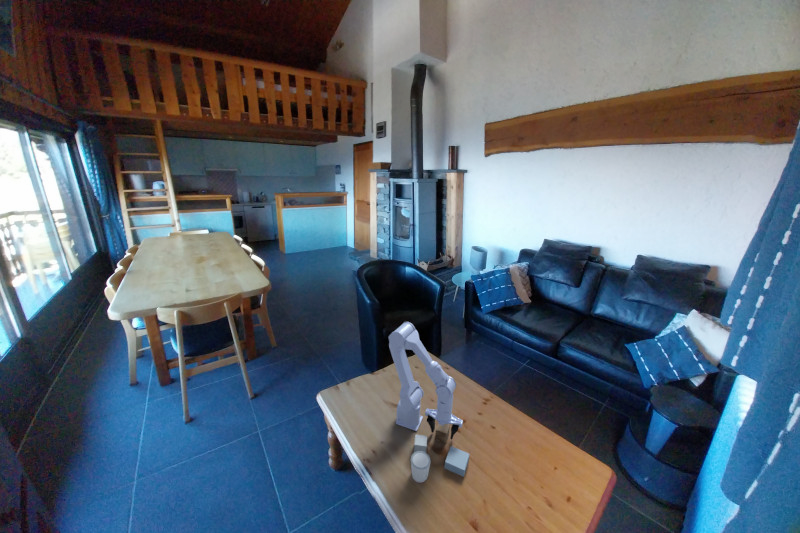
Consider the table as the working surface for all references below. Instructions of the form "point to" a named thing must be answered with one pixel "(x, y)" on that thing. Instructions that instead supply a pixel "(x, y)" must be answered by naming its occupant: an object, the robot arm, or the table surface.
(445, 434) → the walnut cube
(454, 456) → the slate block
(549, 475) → the table surface
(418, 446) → the grey cube
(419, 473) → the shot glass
